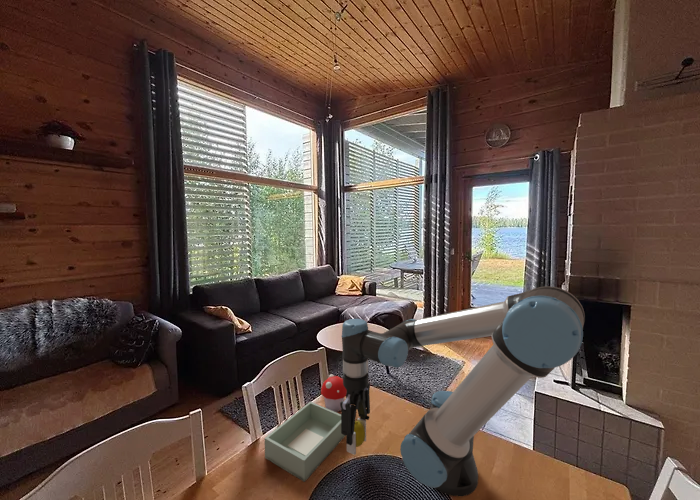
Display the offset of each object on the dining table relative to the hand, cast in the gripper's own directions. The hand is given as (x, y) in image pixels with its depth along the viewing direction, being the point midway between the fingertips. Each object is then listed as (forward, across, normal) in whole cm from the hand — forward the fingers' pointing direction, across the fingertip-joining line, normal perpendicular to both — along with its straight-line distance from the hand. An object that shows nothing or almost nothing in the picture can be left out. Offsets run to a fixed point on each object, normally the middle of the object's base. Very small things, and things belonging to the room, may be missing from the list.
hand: (356, 445), depth 92 cm
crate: (+4, +4, -16) cm, 17 cm away
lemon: (+1, 0, 0) cm, 1 cm away
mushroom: (+4, -17, -20) cm, 27 cm away
